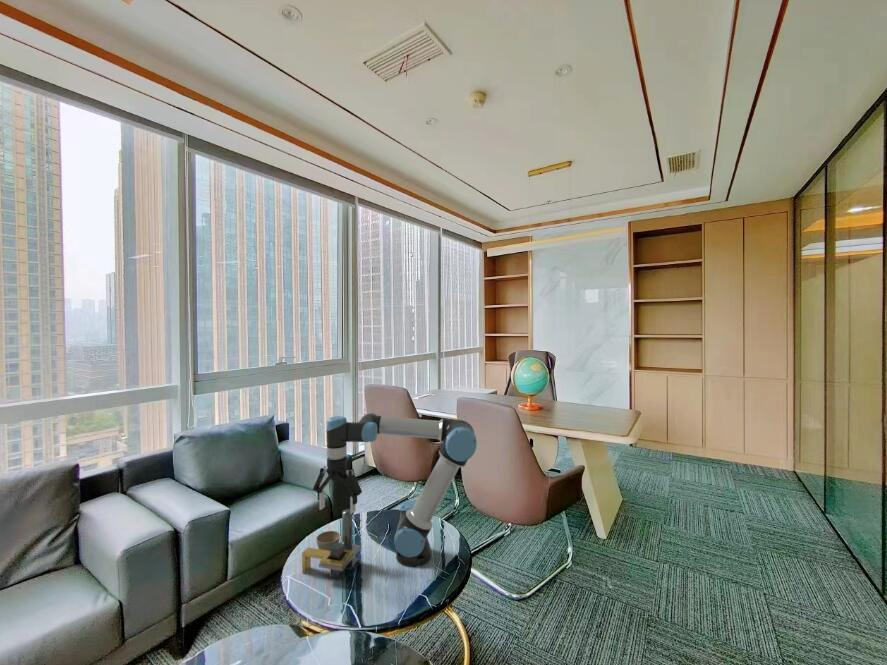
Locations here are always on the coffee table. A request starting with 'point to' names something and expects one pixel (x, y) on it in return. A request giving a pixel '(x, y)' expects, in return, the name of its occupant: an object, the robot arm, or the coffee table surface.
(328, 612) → the coffee table surface
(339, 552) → the dark grey block
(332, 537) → the flower pot
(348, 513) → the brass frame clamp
